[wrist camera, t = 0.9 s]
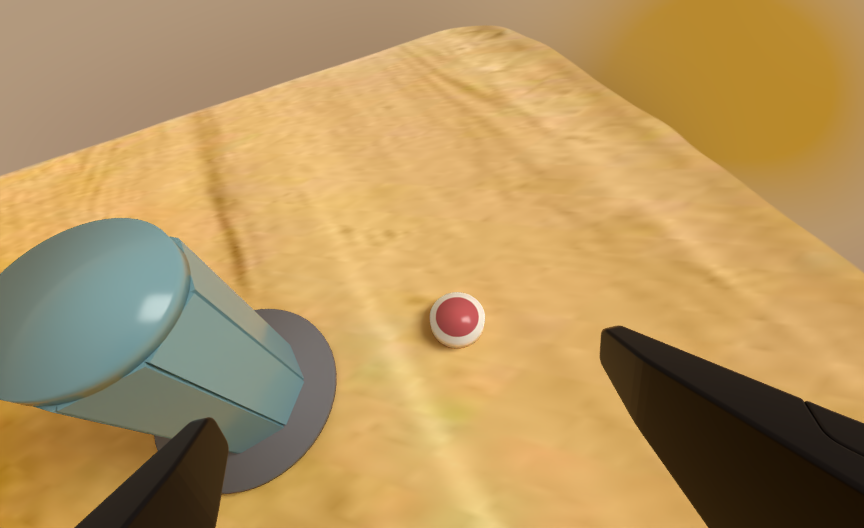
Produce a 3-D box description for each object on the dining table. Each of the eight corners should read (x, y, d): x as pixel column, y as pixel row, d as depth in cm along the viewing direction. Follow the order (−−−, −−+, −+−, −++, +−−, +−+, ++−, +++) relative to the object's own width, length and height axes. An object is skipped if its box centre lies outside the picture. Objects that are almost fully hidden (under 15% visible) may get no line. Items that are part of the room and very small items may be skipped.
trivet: (239, 541, 20) (235, 542, 19) (121, 417, 23) (116, 416, 23) (371, 366, 24) (370, 364, 24) (255, 285, 28) (253, 282, 28)
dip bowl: (466, 359, 25) (466, 353, 23) (420, 331, 26) (418, 323, 25) (493, 316, 26) (495, 308, 25) (449, 291, 27) (448, 283, 26)
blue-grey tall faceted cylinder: (270, 464, 21) (85, 426, 11) (167, 433, 22) (-95, 371, 12) (318, 349, 25) (214, 233, 14) (226, 328, 26) (65, 205, 15)
